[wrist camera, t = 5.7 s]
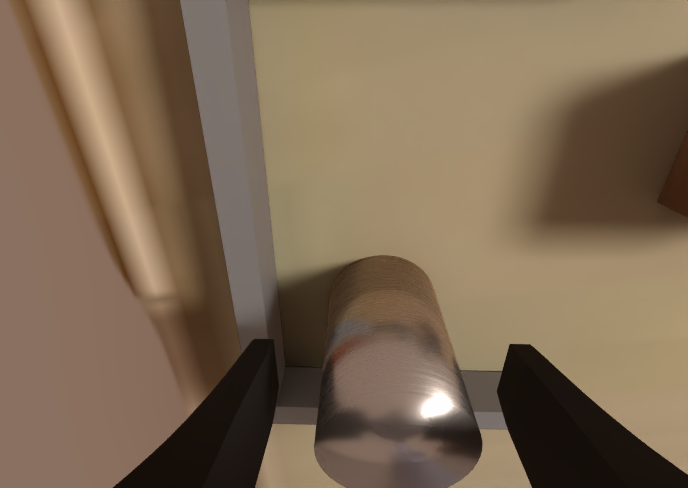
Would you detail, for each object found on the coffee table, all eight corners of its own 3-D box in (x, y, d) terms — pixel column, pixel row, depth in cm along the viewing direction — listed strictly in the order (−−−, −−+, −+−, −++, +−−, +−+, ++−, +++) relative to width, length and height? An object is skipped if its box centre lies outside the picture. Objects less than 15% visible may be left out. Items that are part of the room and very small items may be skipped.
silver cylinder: (432, 337, 15) (475, 496, 10) (335, 342, 15) (324, 499, 10) (435, 252, 13) (490, 390, 8) (324, 259, 13) (303, 397, 8)
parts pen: (514, 388, 16) (533, 430, 14) (264, 382, 16) (254, 423, 15) (663, -89, 9) (742, -125, 7) (198, -85, 9) (159, -118, 7)
